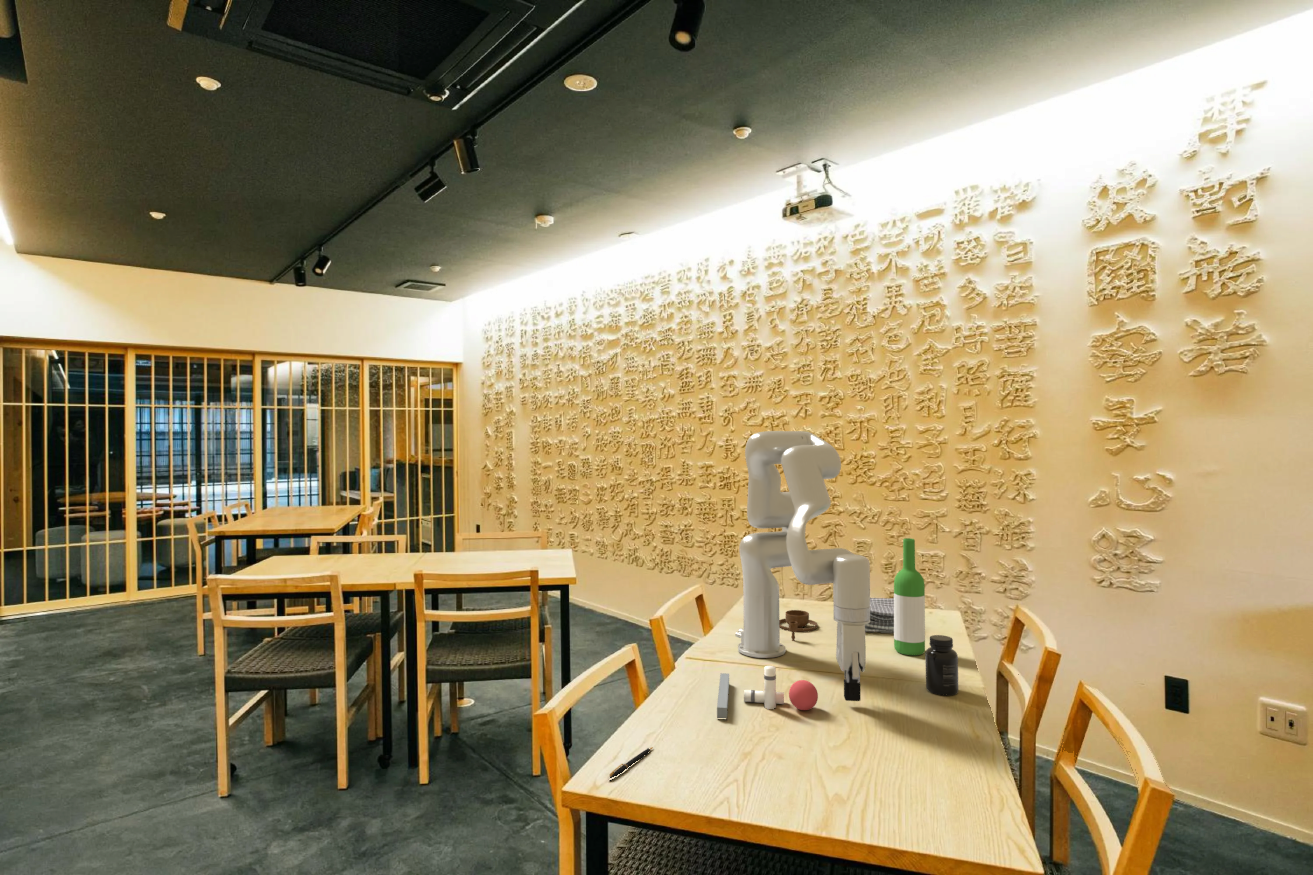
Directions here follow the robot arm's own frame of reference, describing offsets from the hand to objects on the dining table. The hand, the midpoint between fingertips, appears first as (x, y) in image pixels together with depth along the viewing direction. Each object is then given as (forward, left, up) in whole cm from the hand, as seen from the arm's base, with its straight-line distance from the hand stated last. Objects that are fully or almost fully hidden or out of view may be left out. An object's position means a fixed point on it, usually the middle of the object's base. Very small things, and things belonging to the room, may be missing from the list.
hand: (852, 699), depth 146 cm
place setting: (-47, +34, -3) cm, 58 cm away
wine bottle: (-13, +42, -2) cm, 44 cm away
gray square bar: (-19, -19, -2) cm, 27 cm away
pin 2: (-10, -14, -2) cm, 18 cm away
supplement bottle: (+7, +23, -2) cm, 24 cm away
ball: (-5, -9, +2) cm, 11 cm away
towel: (-33, +55, -2) cm, 65 cm away
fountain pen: (-8, -52, -2) cm, 52 cm away
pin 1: (-10, -10, 0) cm, 14 cm away
